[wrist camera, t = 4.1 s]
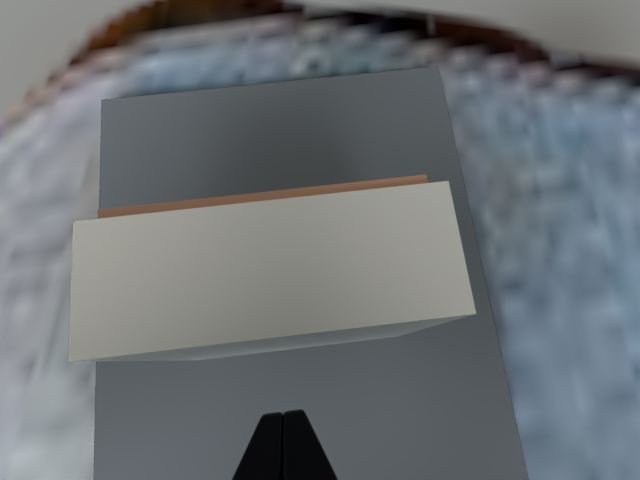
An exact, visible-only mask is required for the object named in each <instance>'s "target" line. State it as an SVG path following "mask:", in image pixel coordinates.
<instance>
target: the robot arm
mask: <svg viewBox="0 0 640 480" xmlns="http://www.w3.org/2000/svg"><path fill="white" fill-rule="evenodd" d="M232 480H338V478H337V476H336V474H335V472H334V470H333V468H332V466H331V464H330V462H329V460H328V458H327V456H326V454H325V452H324V450H323V447H322V445H321V443H320V441H319V439H318V437H317V435H316V433H315V431H314V429H313V427H312V425H311V423H310V421H309V419H308V417H307V415H306V413H305V411H304V410H303V409H296V410H288V411H285V412H284V414H283V413H282V412H273V413H265V414H263V415H262V416H261V418H260V420H259V422H258V424H257V426H256V428H255V430H254V433H253V435H252V437H251V439H250V441H249V443H248V445H247V448H246V450H245V452H244V454H243V456H242V458H241V461H240V463H239V465H238V467H237V469H236V471H235V473H234V476H233V478H232Z"/></svg>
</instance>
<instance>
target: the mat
mask: <svg viewBox="0 0 640 480" xmlns="http://www.w3.org/2000/svg"><path fill="white" fill-rule="evenodd" d="M416 175H426V176H427V181H428V183H433V182H442V181H449V185H450V190H451V195H452V200H453V204H454V209H455V214H456V219H457V224H458V228H459V233H460V238H461V243H462V248H463V252H464V257H465V262H466V267H467V271H468V276H469V281H470V286H471V291H472V295H473V300H474V305H475V310H476V314H474V315H471V316H467V317H464V318H460V319H457V320H453V321H450V322H446V323H443V324H439V325H436V326H432V327H429V328H425V329H422V330H419V331H415V332H412V333H408V334H405V335H401V336H398V337H390V338H382V339H373V340H365V341H356V342H348V343H339V344H331V345H323V346H314V347H306V348H297V349H289V350H280V351H272V352H264V353H255V354H247V355H238V356H230V357H221V358H213V359H205V360H183V361H99V362H96V385H95V433H94V480H232V478H233V476H234V473H235V471H236V469H237V467H238V465H239V463H240V461H241V458H242V456H243V454H244V452H245V450H246V448H247V445H248V443H249V441H250V439H251V437H252V435H253V433H254V430H255V428H256V426H257V424H258V422H259V420H260V418H261V416H262V415H263V414H265V413H273V412H282V413H283V414H284V412H285V411H288V410H296V409H303V410H304V411H305V413H306V415H307V417H308V419H309V421H310V423H311V425H312V427H313V429H314V431H315V433H316V435H317V437H318V439H319V441H320V443H321V445H322V447H323V450H324V452H325V454H326V456H327V458H328V460H329V462H330V464H331V466H332V468H333V470H334V472H335V474H336V476H337V478H338V480H529V479H528V474H527V470H526V465H525V461H524V456H523V451H522V447H521V442H520V438H519V433H518V429H517V424H516V419H515V415H514V410H513V406H512V401H511V397H510V392H509V387H508V383H507V378H506V374H505V369H504V365H503V360H502V355H501V351H500V346H499V342H498V337H497V333H496V328H495V323H494V319H493V314H492V310H491V305H490V301H489V296H488V291H487V287H486V282H485V278H484V273H483V269H482V264H481V259H480V255H479V250H478V246H477V241H476V237H475V232H474V227H473V223H472V218H471V214H470V209H469V204H468V200H467V195H466V191H465V186H464V182H463V177H462V172H461V168H460V163H459V159H458V154H457V150H456V145H455V140H454V136H453V131H452V127H451V122H450V118H449V113H448V108H447V104H446V99H445V95H444V90H443V86H442V81H441V76H440V72H439V67H438V66H435V67H425V68H415V69H405V70H395V71H385V72H375V73H365V74H355V75H345V76H335V77H325V78H315V79H305V80H295V81H285V82H275V83H265V84H255V85H245V86H235V87H225V88H215V89H205V90H195V91H185V92H175V93H165V94H155V95H145V96H135V97H125V98H115V99H105V100H101V147H100V195H99V210H100V209H109V208H119V207H128V206H137V205H146V204H156V203H165V202H174V201H184V200H193V199H202V198H212V197H221V196H230V195H239V194H249V193H258V192H267V191H277V190H286V189H295V188H305V187H314V186H323V185H333V184H342V183H351V182H360V181H370V180H379V179H388V178H398V177H407V176H416Z"/></svg>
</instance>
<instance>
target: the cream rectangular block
mask: <svg viewBox="0 0 640 480" xmlns="http://www.w3.org/2000/svg"><path fill="white" fill-rule="evenodd" d="M474 314H476V310H475V305H474V300H473V295H472V291H471V286H470V281H469V276H468V271H467V267H466V262H465V257H464V252H463V248H462V243H461V238H460V233H459V228H458V224H457V219H456V214H455V209H454V204H453V200H452V195H451V190H450V185H449V181H442V182H433V183H428V181H427V176H426V175H416V176H407V177H398V178H388V179H379V180H370V181H360V182H351V183H342V184H333V185H323V186H314V187H305V188H295V189H286V190H277V191H267V192H258V193H249V194H239V195H230V196H221V197H212V198H202V199H193V200H184V201H174V202H165V203H156V204H146V205H137V206H128V207H119V208H109V209H100V210H98V219H91V220H81V221H73V242H72V269H71V296H70V322H69V349H68V362H99V361H183V360H205V359H213V358H221V357H230V356H238V355H247V354H255V353H264V352H272V351H280V350H289V349H297V348H306V347H314V346H323V345H331V344H339V343H348V342H356V341H365V340H373V339H382V338H390V337H398V336H401V335H405V334H408V333H412V332H415V331H419V330H422V329H425V328H429V327H432V326H436V325H439V324H443V323H446V322H450V321H453V320H457V319H460V318H464V317H467V316H471V315H474Z"/></svg>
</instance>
